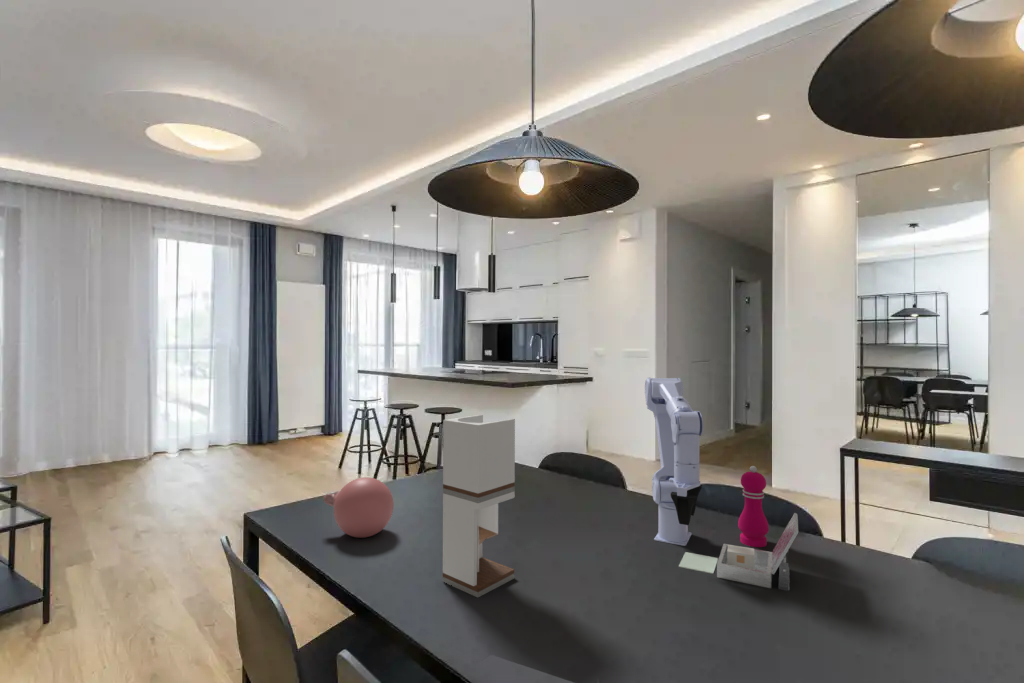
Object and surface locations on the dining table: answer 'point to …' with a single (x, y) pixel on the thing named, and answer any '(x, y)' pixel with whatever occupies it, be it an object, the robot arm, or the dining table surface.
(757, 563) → the case
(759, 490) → the pepper mill
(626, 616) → the dining table surface
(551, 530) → the dining table surface
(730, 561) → the block
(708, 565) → the pad
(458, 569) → the display case
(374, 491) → the round balloon
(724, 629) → the dining table surface
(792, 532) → the lid
